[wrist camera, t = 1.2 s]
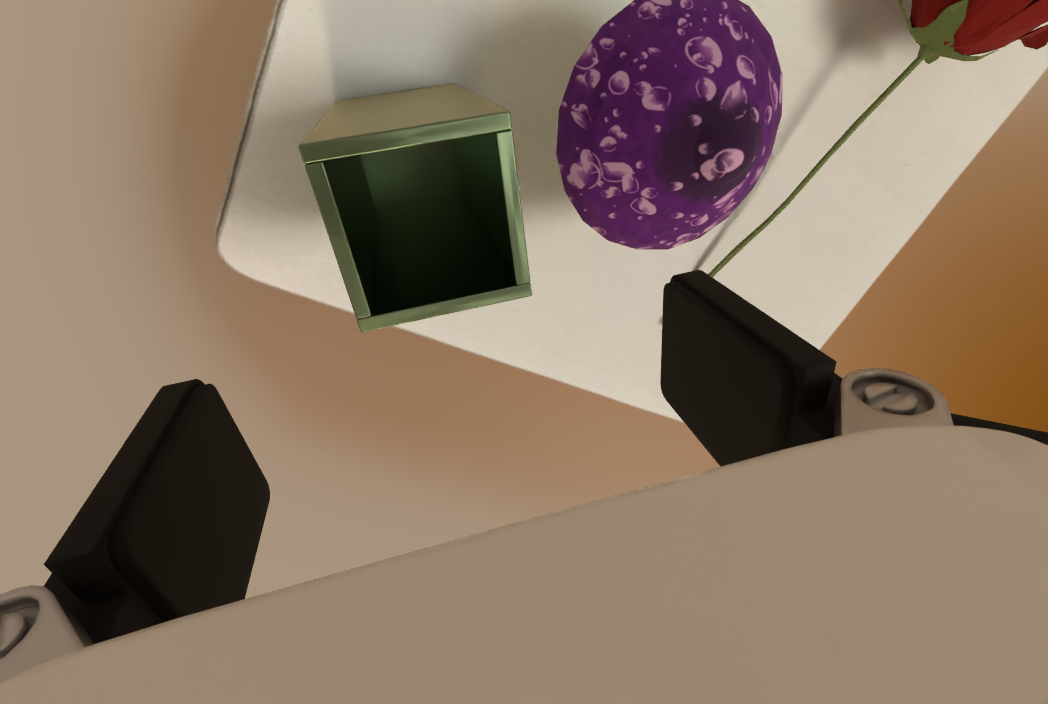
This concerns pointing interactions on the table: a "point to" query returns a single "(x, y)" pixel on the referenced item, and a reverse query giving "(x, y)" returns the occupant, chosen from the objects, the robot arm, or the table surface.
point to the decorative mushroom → (669, 120)
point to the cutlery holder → (420, 203)
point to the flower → (946, 52)
